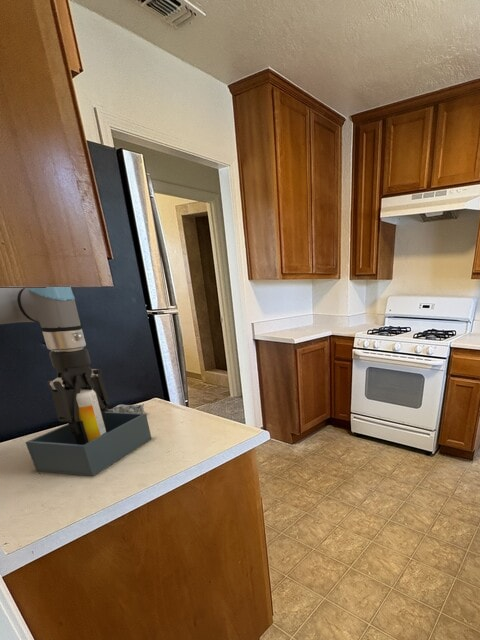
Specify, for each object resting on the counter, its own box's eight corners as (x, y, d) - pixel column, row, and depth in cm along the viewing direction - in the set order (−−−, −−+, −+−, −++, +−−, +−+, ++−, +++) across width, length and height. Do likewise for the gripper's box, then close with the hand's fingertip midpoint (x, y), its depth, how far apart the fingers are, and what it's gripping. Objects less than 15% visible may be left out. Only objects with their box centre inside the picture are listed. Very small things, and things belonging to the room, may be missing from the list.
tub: (36, 471, 84) (25, 442, 81) (104, 435, 103) (97, 411, 100) (93, 476, 81) (83, 446, 78) (151, 438, 101) (146, 413, 98)
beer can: (88, 442, 94) (72, 387, 88) (112, 440, 95) (98, 386, 89) (77, 452, 88) (60, 394, 82) (104, 450, 89) (88, 393, 83)
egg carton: (104, 421, 115) (101, 409, 113) (118, 413, 122) (115, 402, 120) (136, 421, 114) (133, 409, 112) (148, 413, 121) (145, 401, 119)
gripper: (44, 357, 73) (76, 457, 82) (112, 343, 90) (132, 427, 99) (14, 356, 74) (48, 454, 83) (86, 342, 91) (108, 425, 100)
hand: (94, 439), depth 91 cm, fingers closed on beer can, 6 cm apart
